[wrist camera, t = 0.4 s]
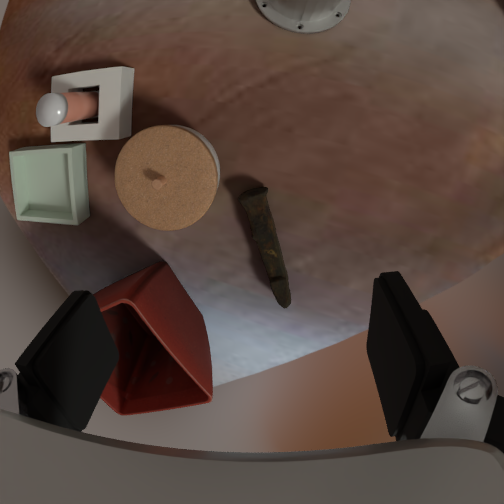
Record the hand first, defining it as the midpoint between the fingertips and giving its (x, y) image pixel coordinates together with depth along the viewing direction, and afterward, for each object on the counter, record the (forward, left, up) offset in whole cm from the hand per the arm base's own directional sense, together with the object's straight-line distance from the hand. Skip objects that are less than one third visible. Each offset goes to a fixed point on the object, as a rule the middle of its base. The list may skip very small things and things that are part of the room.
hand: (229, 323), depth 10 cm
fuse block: (-6, -25, -35) cm, 44 cm away
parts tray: (+6, -34, -35) cm, 49 cm away
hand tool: (+14, +3, -36) cm, 38 cm away
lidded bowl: (+3, -11, -36) cm, 37 cm away
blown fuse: (-6, -25, -35) cm, 44 cm away
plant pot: (+27, -16, -36) cm, 47 cm away
